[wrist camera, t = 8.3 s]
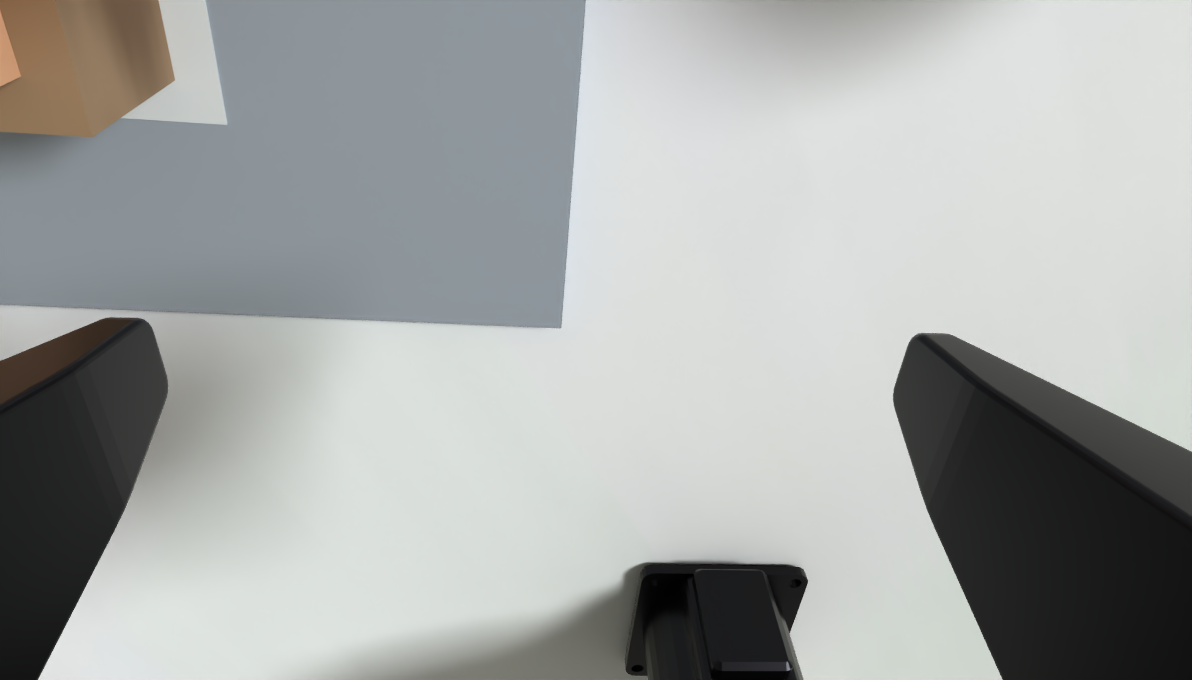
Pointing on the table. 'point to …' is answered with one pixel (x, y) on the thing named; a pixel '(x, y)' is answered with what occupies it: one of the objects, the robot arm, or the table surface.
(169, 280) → the plate
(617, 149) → the table surface
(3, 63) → the top block
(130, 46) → the base block
